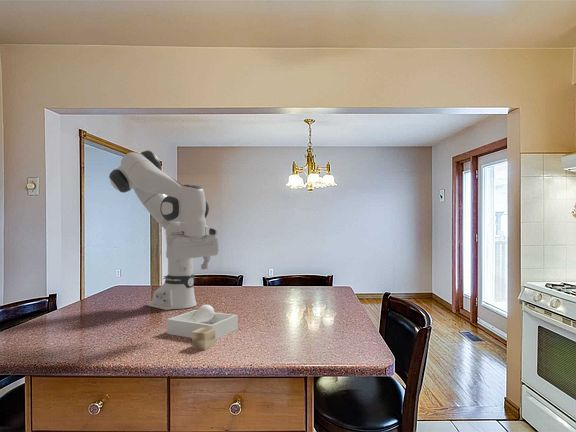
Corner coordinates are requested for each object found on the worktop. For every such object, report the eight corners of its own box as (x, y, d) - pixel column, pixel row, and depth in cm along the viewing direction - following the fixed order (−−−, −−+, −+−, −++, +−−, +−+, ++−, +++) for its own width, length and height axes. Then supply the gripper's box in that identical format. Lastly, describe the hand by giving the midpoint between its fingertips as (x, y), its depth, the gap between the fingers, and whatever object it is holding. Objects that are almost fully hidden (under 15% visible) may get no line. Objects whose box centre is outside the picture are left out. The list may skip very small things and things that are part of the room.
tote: (166, 333, 130) (166, 319, 130) (195, 322, 143) (195, 309, 143) (212, 341, 122) (212, 325, 122) (237, 329, 135) (237, 315, 135)
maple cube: (192, 348, 116) (192, 331, 116) (202, 343, 120) (202, 327, 120) (205, 350, 114) (205, 333, 114) (215, 345, 118) (215, 329, 118)
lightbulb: (182, 325, 134) (205, 307, 142) (193, 336, 132) (216, 318, 139) (182, 315, 130) (207, 298, 138) (194, 327, 128) (218, 309, 135)
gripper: (173, 232, 121) (174, 275, 121) (221, 230, 138) (221, 268, 138) (161, 232, 125) (162, 273, 125) (209, 230, 141) (209, 267, 141)
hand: (193, 270), depth 131 cm, fingers open, 8 cm apart
